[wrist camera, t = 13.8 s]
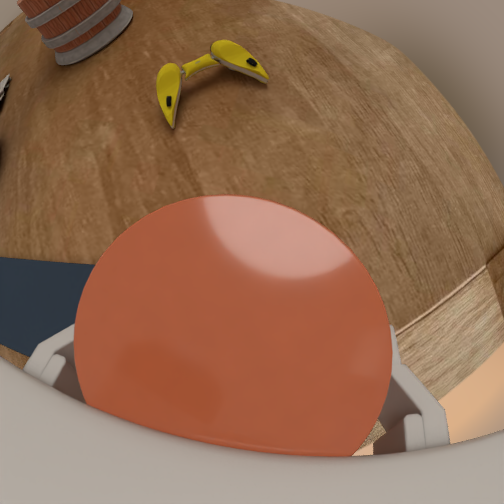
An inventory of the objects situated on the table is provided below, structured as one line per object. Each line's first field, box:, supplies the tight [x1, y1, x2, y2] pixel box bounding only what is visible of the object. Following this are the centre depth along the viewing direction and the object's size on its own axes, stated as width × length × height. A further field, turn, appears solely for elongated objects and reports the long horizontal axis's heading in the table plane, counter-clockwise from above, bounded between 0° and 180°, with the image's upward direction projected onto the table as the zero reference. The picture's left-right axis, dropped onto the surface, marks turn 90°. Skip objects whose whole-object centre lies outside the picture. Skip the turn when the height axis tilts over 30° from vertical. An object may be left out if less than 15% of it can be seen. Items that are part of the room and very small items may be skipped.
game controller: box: [156, 40, 269, 129], centre depth 23 cm, size 10×6×4 cm, turn 119°
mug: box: [17, 0, 133, 65], centre depth 22 cm, size 14×19×15 cm
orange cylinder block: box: [73, 194, 393, 457], centre depth 10 cm, size 7×7×10 cm
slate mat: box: [0, 257, 95, 357], centre depth 22 cm, size 30×10×1 cm, turn 87°
